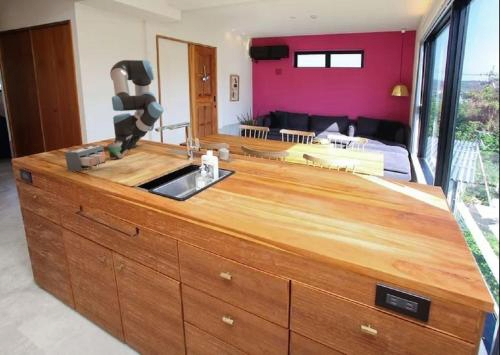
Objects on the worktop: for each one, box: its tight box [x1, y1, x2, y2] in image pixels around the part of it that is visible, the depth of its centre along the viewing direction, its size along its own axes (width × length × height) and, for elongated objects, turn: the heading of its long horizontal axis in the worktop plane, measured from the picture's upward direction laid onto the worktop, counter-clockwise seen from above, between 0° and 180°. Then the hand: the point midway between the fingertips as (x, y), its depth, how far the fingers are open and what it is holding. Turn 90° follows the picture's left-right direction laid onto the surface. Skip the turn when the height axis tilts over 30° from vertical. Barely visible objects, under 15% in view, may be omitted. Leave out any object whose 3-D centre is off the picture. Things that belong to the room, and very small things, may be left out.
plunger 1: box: [80, 157, 96, 167], centre depth 174 cm, size 8×4×4 cm, turn 74°
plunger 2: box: [97, 151, 106, 160], centre depth 187 cm, size 8×4×4 cm, turn 74°
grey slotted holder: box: [64, 144, 106, 172], centre depth 182 cm, size 8×19×10 cm, turn 164°
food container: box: [107, 141, 123, 161], centre depth 200 cm, size 12×6×10 cm, turn 179°
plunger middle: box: [89, 154, 104, 164], centre depth 180 cm, size 8×4×4 cm, turn 74°
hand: (119, 156), depth 183 cm, fingers closed
